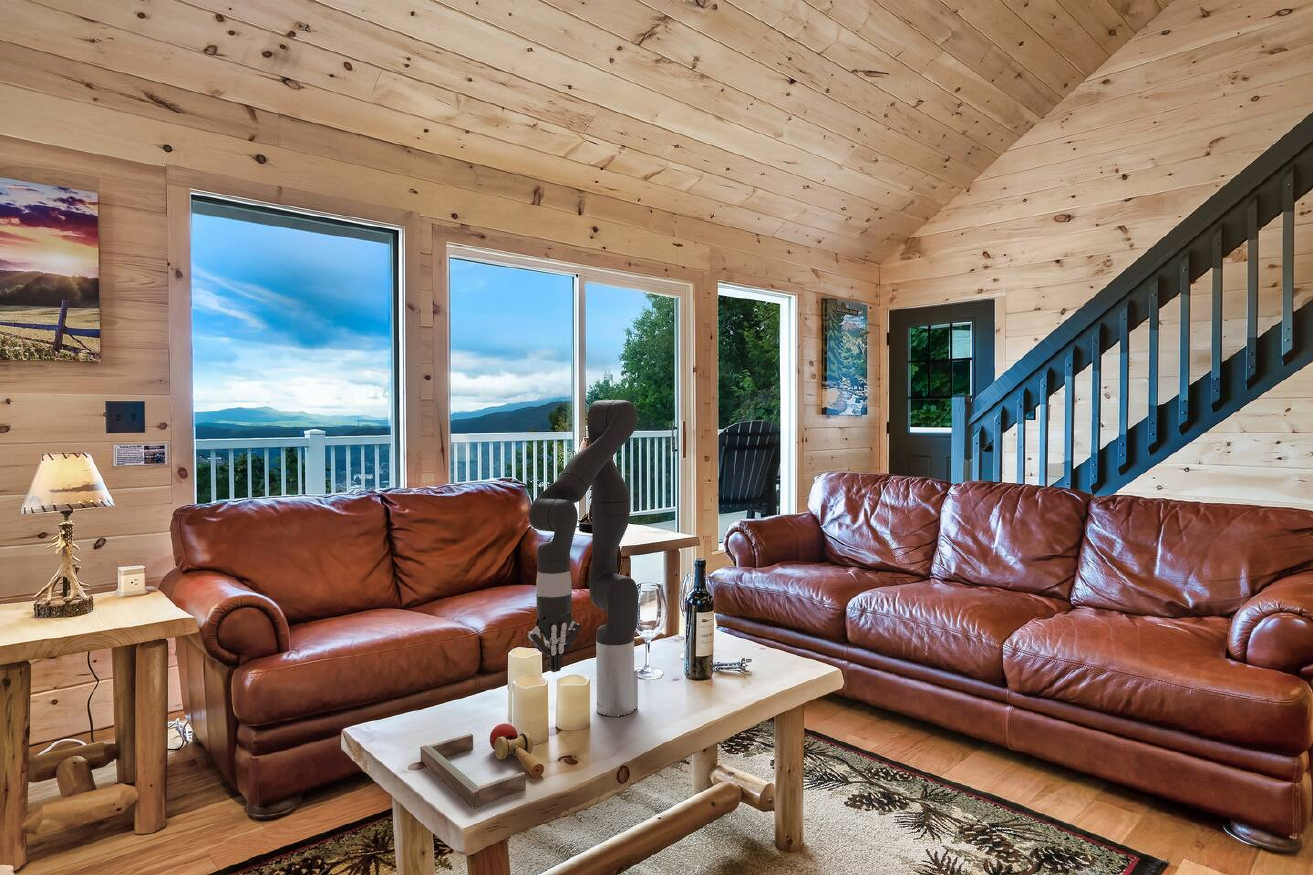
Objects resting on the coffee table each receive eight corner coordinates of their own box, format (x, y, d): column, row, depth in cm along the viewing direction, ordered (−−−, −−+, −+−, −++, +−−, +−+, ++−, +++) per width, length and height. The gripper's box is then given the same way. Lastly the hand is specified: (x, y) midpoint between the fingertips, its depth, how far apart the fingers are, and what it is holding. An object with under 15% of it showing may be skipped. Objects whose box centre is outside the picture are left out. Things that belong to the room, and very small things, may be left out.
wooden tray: (470, 746, 172) (470, 732, 171) (527, 789, 152) (526, 774, 152) (420, 760, 165) (420, 746, 164) (473, 808, 145) (473, 792, 145)
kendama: (557, 776, 160) (515, 735, 174) (554, 750, 159) (512, 710, 173) (523, 794, 156) (483, 751, 170) (520, 767, 154) (479, 725, 168)
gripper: (570, 583, 176) (571, 659, 177) (518, 592, 168) (519, 672, 169) (589, 589, 170) (590, 668, 171) (535, 599, 162) (536, 682, 163)
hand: (554, 670), depth 170 cm, fingers closed
